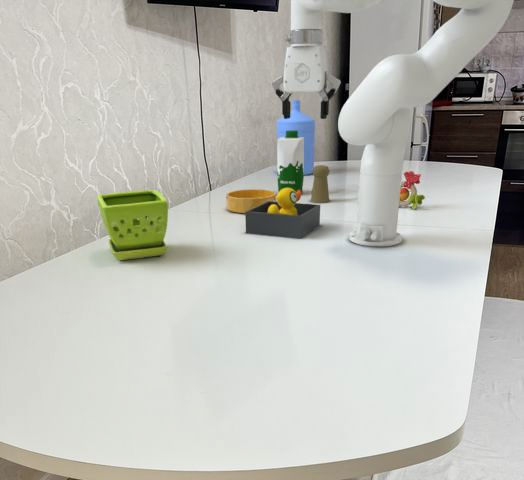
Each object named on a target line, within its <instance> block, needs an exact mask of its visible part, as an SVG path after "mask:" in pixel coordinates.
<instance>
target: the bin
mask: <svg viewBox="0 0 524 480" xmlns="http://www.w3.org/2000/svg"><path fill="white" fill-rule="evenodd" d="M273 204H275V205H277V207H278V209H279V211H280V209H281V208H282V207H280V206H279V205H278V203H277V201H276V202H274V201H267V202H265V203H263V204H261V205H259V206H256V207H254V208H252V209H250V210H248V211H246V212H245V213H244V217H245V220H244V221H245V234H249V235H250V234H251V235H261V236H270V237H271V236H272V237H280V238H281V237H282V238H292V239H303V238H304V237H306V236H307V235H308V234H309V233H311V232H312V231H314V230H315V229H317V228H318V227H320V225H321V220H320V219H321V204H316V203H314V204H313V203H300V202H299V203H298V202H296V203H295V205H294V207H295V208H296V210H297V213H298V215H286V214H273V213H267V212H268V208H269V207H270V205H273Z"/></svg>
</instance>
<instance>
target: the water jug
mask: <svg viewBox="0 0 524 480" xmlns="http://www.w3.org/2000/svg"><path fill="white" fill-rule="evenodd" d="M291 103H292V105H291V109H292V110H291V111H290V118H288V119H284V116H282V117H281V118H279V119H277V122H276V133H277V134H276V135H277V136H276V137H277V139H279V138H282V137H286V131H298V137H304V176H309V175H313V168H314V167H315V164H314V163H315V148H316V147H315V133H316V132H315V131H316V120H315V119H314V118H313V117H311V116H309V115H307V114H306V113H304V112H301V100H299V99H297V100H291Z"/></svg>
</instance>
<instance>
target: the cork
mask: <svg viewBox="0 0 524 480" xmlns="http://www.w3.org/2000/svg"><path fill="white" fill-rule="evenodd" d="M329 174H330V168H329V167H328V166H327V165H324V164H320V165H319V164H318V165H314V168H313V173H312V175H313V183H312V189H311V198H310V202H311V203H314V204H326V203H330V193H329V182H328V176H329Z"/></svg>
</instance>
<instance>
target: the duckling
mask: <svg viewBox="0 0 524 480" xmlns="http://www.w3.org/2000/svg"><path fill="white" fill-rule="evenodd" d="M301 197H302V192H301V191H300V190H298V191H297V192H296V191H295V190H294V189H292V188H283V189H281V190H280V191H279V192H277V194H276V202H277V203H278V205H279V206H280V207H282V208H281V209H280V211H279V209H278V207H277V205H275V204H273V205H270V207H269V208H268V212H267V213H273V214H286V215H298V213H297V210H296V208H295V207H294V205H295V203H298V202H299V201H300V199H301Z"/></svg>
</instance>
